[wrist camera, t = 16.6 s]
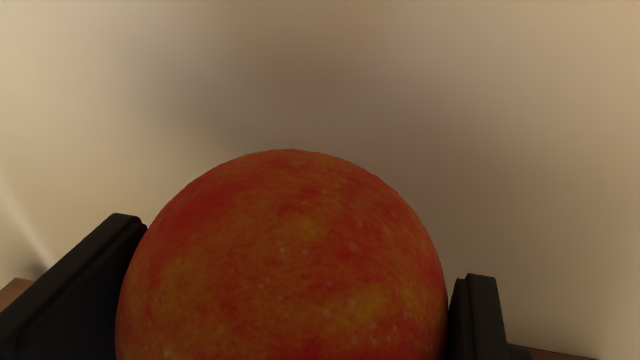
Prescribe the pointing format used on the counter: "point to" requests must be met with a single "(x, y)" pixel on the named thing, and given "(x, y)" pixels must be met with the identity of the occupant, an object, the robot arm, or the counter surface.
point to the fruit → (284, 269)
